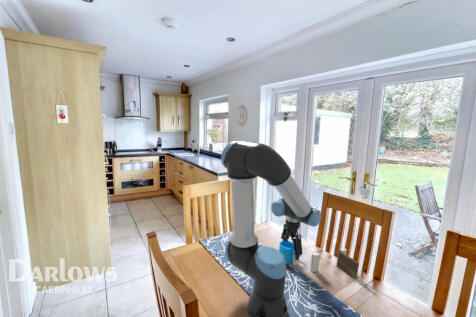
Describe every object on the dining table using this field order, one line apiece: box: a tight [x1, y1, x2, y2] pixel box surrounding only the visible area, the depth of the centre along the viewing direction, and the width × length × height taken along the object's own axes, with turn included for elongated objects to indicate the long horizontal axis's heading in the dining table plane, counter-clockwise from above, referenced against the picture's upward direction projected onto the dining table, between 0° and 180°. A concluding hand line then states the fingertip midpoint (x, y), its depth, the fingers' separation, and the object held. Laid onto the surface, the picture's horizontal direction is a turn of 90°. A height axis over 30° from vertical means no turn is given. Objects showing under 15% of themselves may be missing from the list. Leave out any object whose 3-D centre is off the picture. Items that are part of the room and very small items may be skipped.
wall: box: [310, 248, 348, 273], centre depth 113 cm, size 2×20×10 cm, turn 108°
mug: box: [278, 240, 302, 264], centre depth 120 cm, size 12×8×8 cm
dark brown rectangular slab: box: [338, 252, 360, 280], centre depth 110 cm, size 2×10×8 cm, turn 27°
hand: (290, 258), depth 120 cm, fingers open, 10 cm apart
